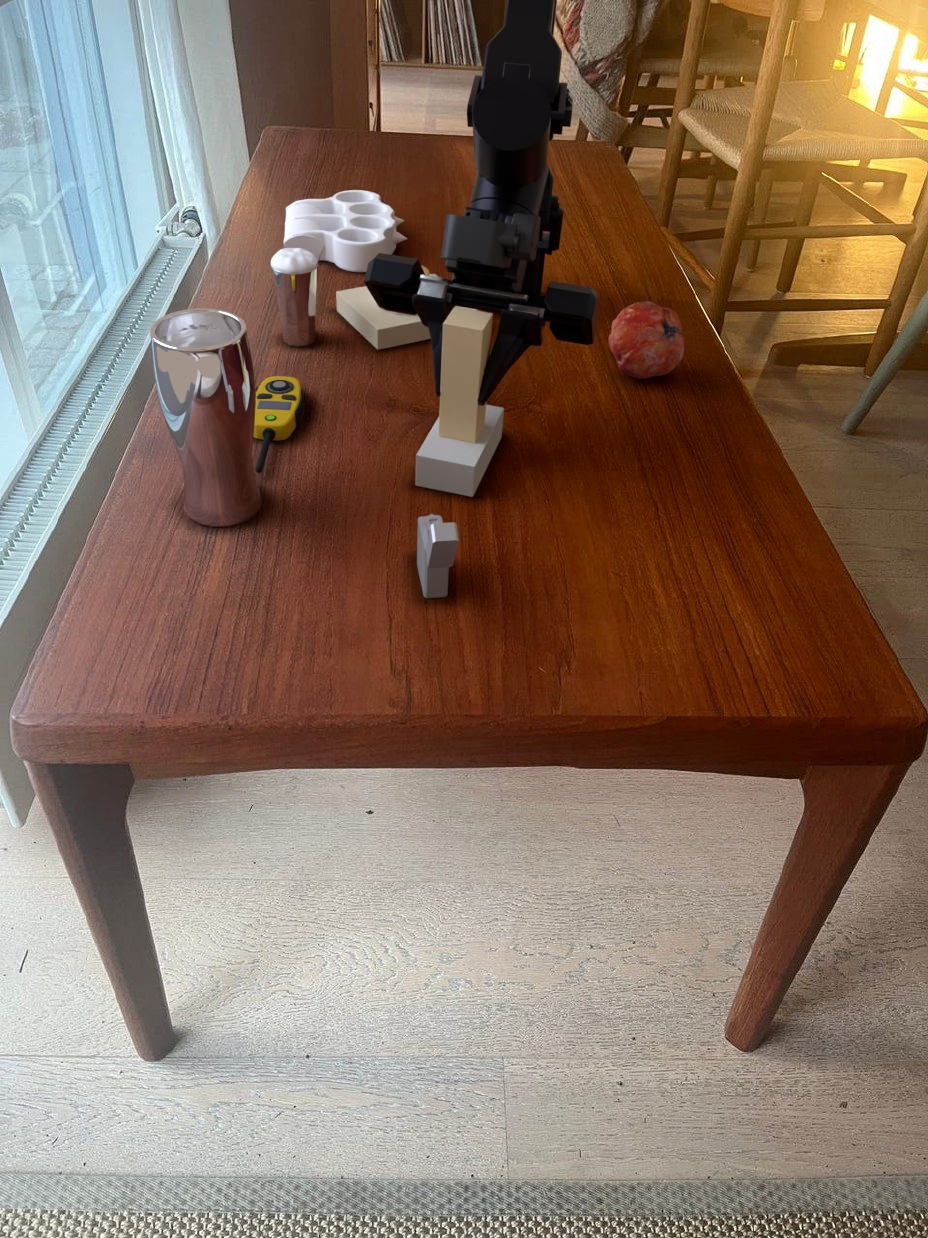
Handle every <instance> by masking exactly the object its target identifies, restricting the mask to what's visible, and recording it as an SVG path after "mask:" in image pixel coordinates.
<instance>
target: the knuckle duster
mask: <svg viewBox="0 0 928 1238" xmlns="http://www.w3.org/2000/svg"><path fill="white" fill-rule="evenodd" d="M381 197H382V196H381V195H380V194H378V193H376V192H373V191H370V190H361V189H351V190H350V189H349V190H343V191H339V192H337V193H335V194H333V195H332V196H330V197H326V198H305V199H300V200H295V201H294V202H292V203H291V204H289V205H287V206H286V207H285V222H284V235H283V236H284V238H283V249H284V248H302V249H304V250H306V251H309V252H311V253H312V254H313V255H314V256H315V257H316V258H317V260H318V259H319V256H320V253H321V251H322V248H323V246H324V249H323V251H322V254H321V257H320V259H319V261H326V262H329V263H333V264H334V265H335V266H336V267H338V268H339V269H341V270H344V271H347V272H353V273H366V271H367V267H368V263H369V262H370V261H371V260H372V259H373V258H374V257H375V256H376V255H377V254H379V253H383V254H389V255H394V252H395V250H396V249H397V244H399V243H401V242H404V241H407V240H408V238H407V237H406V236H404V235H403V234H401V233H400V232H398V231H397V227H398V226H400V225H401V224H402V223H403V222H405V220H404V219H403V218H400V217H398V216H396V215H395V213H396V212H395V210H394V209H393V208H392V207H391V206H390V205H388V204H386V203H383V202H382V199H381Z"/></svg>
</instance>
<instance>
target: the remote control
mask: <svg viewBox="0 0 928 1238" xmlns="http://www.w3.org/2000/svg"><path fill="white" fill-rule="evenodd" d="M255 389H256V412H255V425H254V436H253V438H256V439H258V440H262V445H261V447H260V452H259V455H258V458H257V462H256V465H255V467H254V468H255V472H256V473H257V474H261V473H262V472H263V470H264V467H265V462H266V459H267V455H268V452H269V448H270V445H271V441H284V440H287V439H288V438H290V436H292V434H293V432H294V431H295V429H298V428H299V426H300V424H301V423H302V420H303V418H304V414H305V394H304V389H303V388H302V387H301V383H300V381H299V379H298V378H295V377H293V376H286V375H285V376H283V375H282V376H281V375H273V376H268V377H266V378H265V379H264V380H263V381H262V382H261V383H260V385H259V386H255Z"/></svg>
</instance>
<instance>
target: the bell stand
mask: <svg viewBox="0 0 928 1238" xmlns="http://www.w3.org/2000/svg"><path fill="white" fill-rule="evenodd" d="M429 276H435V277H439V276H438V275H437V274H436V273H429ZM335 297H336V299H335V300H336V312H337V313H338V314H339V315H340V316H341V317H343V318H344V320H346V322H347V323H349V324H350V325H351V326H352V327H353V328H354V329H355V330H356V331H357V332H358V333H359V334H360V335H361V336H362V337H363V338H364V339H365V340H367V342H369V343H370V344H371V345H372V346H373V348H375V349H376V350H377V351H378V350H379V351H380V350H383V349H388V348H389V349H390V348H393V347H398V346H403V345H408V344H413V343H417V342H421V341H427V340H431V338H430V333H429V328H428V327H426V326H424V325H423V324H422V322H421V320H420V318H419V316H418V314H416V315H409V314H403V313H397V312H392V311H386V310H384V309H382V308H380V307H378V305H377V303H376V302H375V300H374V298H373V297H372V295H371V293H370V292H369V290H368V288H367V287H366V285H365V286H359V287H354V288H348V289H347V288H346V289H343V290H337V291H336V292H335ZM455 307H457V308H463V309H469V310H475V311H481V310H477V309H471V308H465V307H459V306H455Z"/></svg>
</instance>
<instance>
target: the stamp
mask: <svg viewBox="0 0 928 1238" xmlns="http://www.w3.org/2000/svg"><path fill="white" fill-rule="evenodd" d="M493 321H494V312H488V311H482V310H480V311H475V310H469V309H463V308H457V307H454V308H453V310H452V311H451V313H450V314H449V316H448V317H447V319H446V320H445V321H444V323H443V337H442V362H441V387H440V392H441V395H440V398H439V413H438V414H439V415H438V417H437V418H436V420H435V422H434V424H433V425H432V427H431V429H430V431H429V432H428V434H427V436H426V438H425V439H424V441H423V442H422V444H421V445H420V448H419V449H418V451H417V453H416V455H415V478H414V479H415V483H414V484H415V487H421V488H426V489H429V490H431V489H432V490H436V491H441V492H446V493H451V494H456V495H460V496H465V497H470V498H473V497H474V495H475V493H476V491H477V490H478V487H479V485H480V484H481V481H482V479H483V476H484V475H485V473H486V471H487V469H488V467H489V464H490V462H491V460H492V458H493V456H494V454H495V452H496V450H497V447H498V446H499V443H500V441H501V439H502V435H503V425H504V415H505V414H504V413H505V407H501V406H496V405H491V404H487V402H486V403H485V405H484V406H481V405H479V404H478V397H479V392H480V387H481V382H482V378H483V375H484V372H485V369H486V366H487V363H488V360H489V357H490V354H491V346H492V335H493Z"/></svg>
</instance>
